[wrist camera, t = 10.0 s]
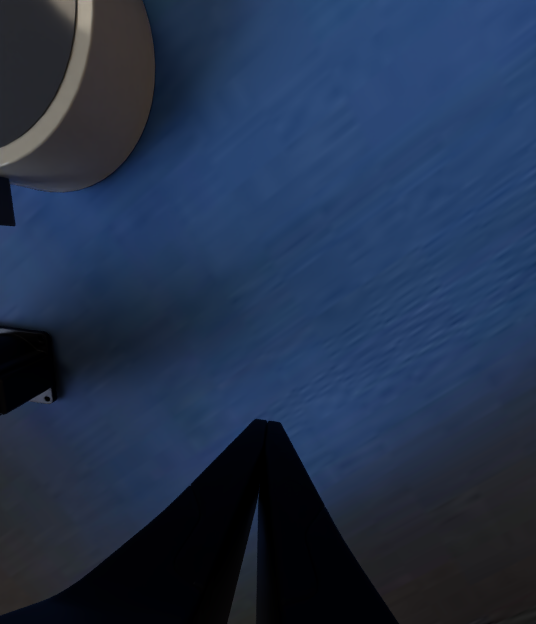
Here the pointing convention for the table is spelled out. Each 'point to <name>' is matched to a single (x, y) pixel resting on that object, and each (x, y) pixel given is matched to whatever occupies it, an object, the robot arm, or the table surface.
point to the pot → (70, 92)
